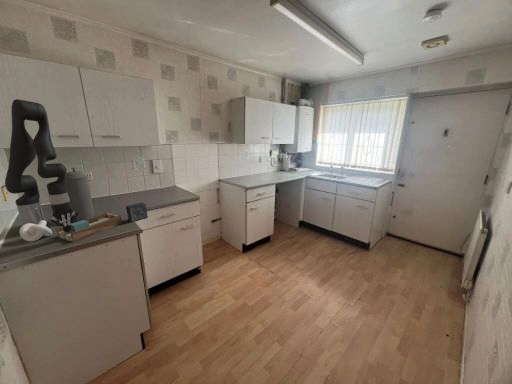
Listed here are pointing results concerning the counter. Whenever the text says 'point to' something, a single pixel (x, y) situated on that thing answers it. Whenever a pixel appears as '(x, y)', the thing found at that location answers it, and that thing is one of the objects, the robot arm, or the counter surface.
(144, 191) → the counter surface
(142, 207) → the small box
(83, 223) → the block
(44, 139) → the robot arm
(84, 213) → the canister
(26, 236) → the white knot sculpture
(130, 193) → the counter surface
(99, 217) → the track
